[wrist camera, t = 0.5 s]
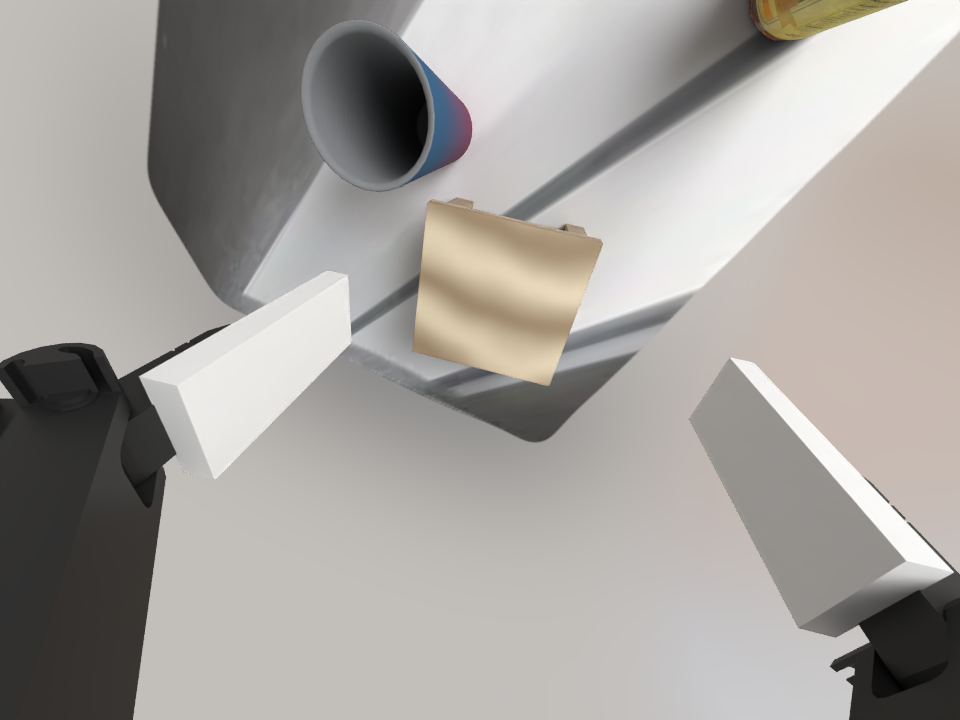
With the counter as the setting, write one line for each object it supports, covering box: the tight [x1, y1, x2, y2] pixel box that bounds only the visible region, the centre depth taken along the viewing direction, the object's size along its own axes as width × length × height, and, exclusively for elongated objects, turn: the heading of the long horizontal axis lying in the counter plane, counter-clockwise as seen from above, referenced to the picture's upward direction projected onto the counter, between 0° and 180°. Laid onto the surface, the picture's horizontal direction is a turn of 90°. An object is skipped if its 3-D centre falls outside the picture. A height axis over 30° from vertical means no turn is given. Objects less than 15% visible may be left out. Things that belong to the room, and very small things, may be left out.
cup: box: [301, 19, 472, 192], centre depth 23 cm, size 7×7×15 cm
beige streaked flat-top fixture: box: [412, 198, 603, 386], centre depth 32 cm, size 13×13×8 cm
